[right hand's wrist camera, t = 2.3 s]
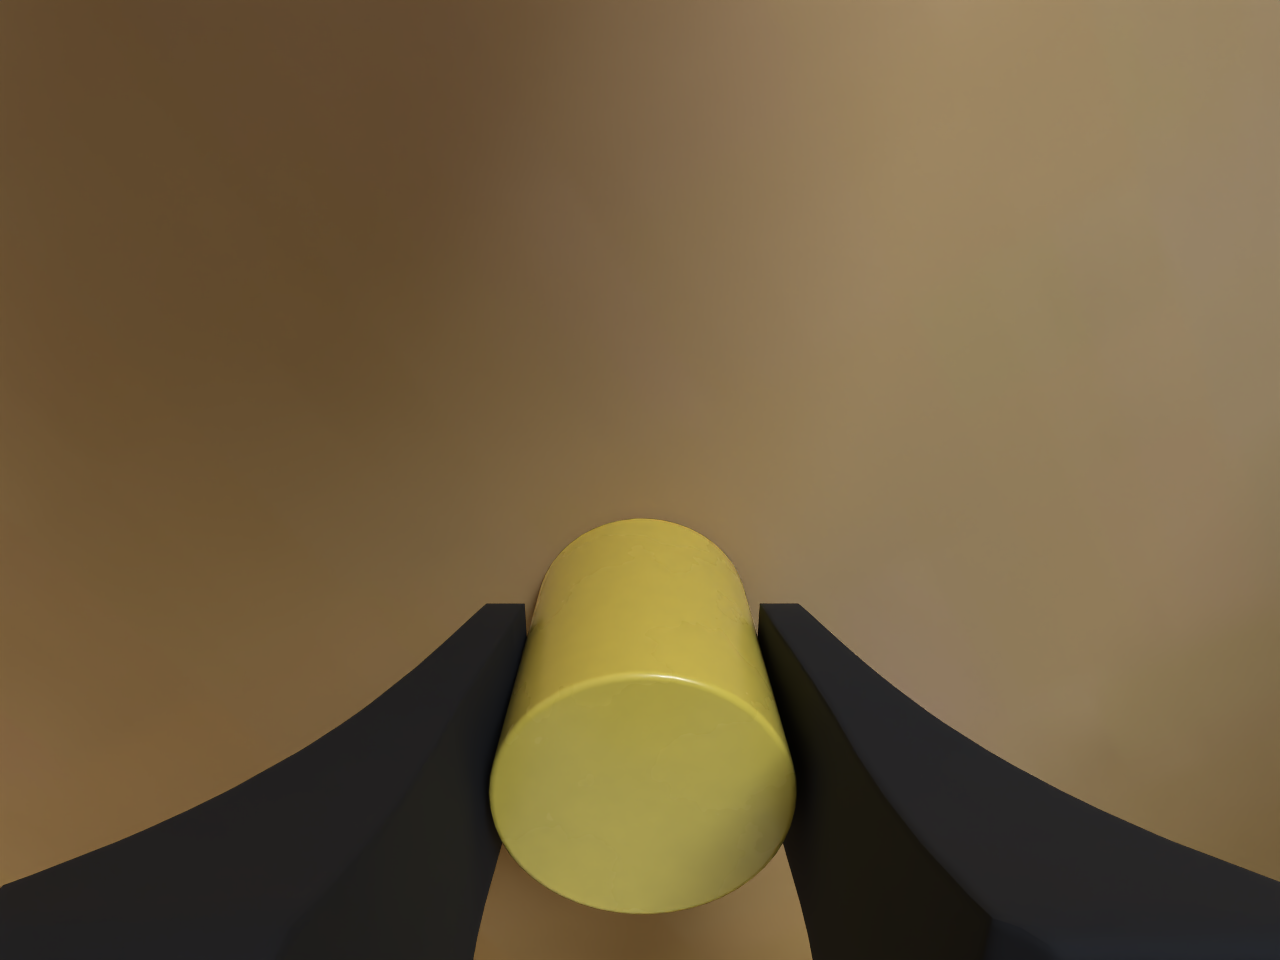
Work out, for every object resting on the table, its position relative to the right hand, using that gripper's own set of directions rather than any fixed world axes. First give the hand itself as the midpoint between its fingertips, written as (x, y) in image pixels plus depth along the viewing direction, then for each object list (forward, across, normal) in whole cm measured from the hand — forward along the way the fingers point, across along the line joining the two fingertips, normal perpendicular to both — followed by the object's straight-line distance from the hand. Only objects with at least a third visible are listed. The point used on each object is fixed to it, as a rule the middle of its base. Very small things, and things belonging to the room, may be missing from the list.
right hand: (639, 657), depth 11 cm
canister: (+1, 0, 0) cm, 1 cm away
